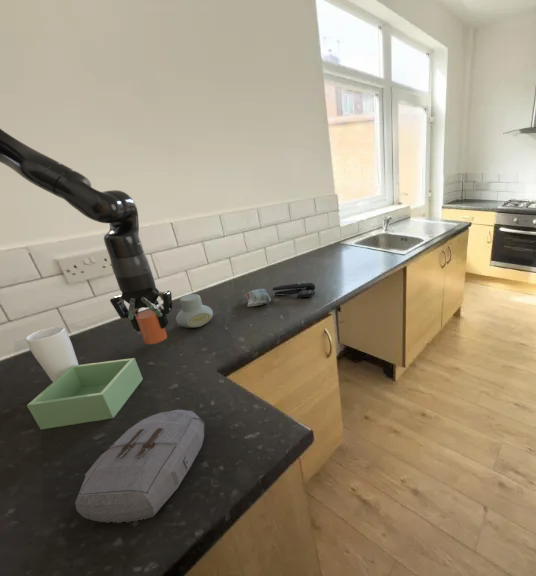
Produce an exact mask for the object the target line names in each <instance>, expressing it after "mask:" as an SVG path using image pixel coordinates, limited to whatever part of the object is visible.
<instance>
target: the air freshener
mask: <svg viewBox="0 0 536 576" xmlns="http://www.w3.org/2000/svg"><path fill="white" fill-rule="evenodd" d="M179 302H180V306H181V310H180V311H178V313H177V315H176V317H175V320H176V323H177V324H178V325H179V326H181V327H183V328H188V329H193V328H194V329H195V328H200V327H201V328H202V327H203V326H204V325H205V324H207V323H209V322H210V321H211V319H212V318H213V316H214V311H213V309H212V308H211V307H210V306H208V305H205V304H203V301H202V298H201V295H199V294H197V293H191V294H186V295H184V296H182V297H181V298H179Z"/></svg>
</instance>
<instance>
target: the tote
mask: <svg viewBox="0 0 536 576" xmlns="http://www.w3.org/2000/svg"><path fill="white" fill-rule="evenodd" d="M143 380H144V377H143V376H142V373H141V371H140V368H139V365H138V363H137V360H136V358H135V357H132V358H124V359H123V358H122V359H116V360H107V361H100V362H93V363H92V362H91V363H85V364H79V365H76V366H71V367H70V368H69V369H68V370H67V371H66V372H64V373H63V374H62V375H61V376H60V377H59V378H58V379H56V380H55V381H54V382H52V383H50V384H49V385H48V386H47V387H46V388H45V389H44V390H43V391H41V392H40V393H39V394H38V395H36V397H35V398H33V399H32V400H31V401H30V402H29V403H28V404H27V405H26V407H27V409H28V410H29V412H30V414H31V415H32V417H33V419H34V421H35V423H36V424H37V426H38V427H39V429H40V430H47V429H53V428H60V427H66V426H72V425H78V424H86V423H91V422H98V421H105V420H110V419H114V418H115V417H116V416H117V414H118V413H119V412H120V411H121V409H123V406H125V404H126V402H127V401H128V400H129V398H130V397H131V396H132V394H133V393H134V392H135V390H136V389H137V388H138V386H139V385H140V384H141V383H142V381H143Z"/></svg>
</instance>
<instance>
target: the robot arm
mask: <svg viewBox="0 0 536 576" xmlns="http://www.w3.org/2000/svg"><path fill="white" fill-rule="evenodd" d="M0 163H1V164H3V165H5V166H7V167H8V168H10V169H11V170H13V171H14V172H15V173H17V174H18V175H20V177H22V178H23V179H25V180H26V181H28V182H29V183H31V184H33V185H34V186H36V187H38V188H40V189H42V190H44V191H46V192H48V193H50V194H52V195H54V196H55V197H58V198H60V199H63V200H64V201H66V202H67V203H68V204H69V205H70V206H72V207H73V208H74V209H75V210H77V211H78V212H79V213H81V214H82V215H83V216H85V217H86V218H88V219H90V220H92V221H94V222H97V223H101V224H109V230H108V231H107V233H106V234H104V236H103V242H104V245H105V248H106V251H107V254H108V257H109V260H110V266H111V269H112V272H113V274H114V277H115V280H116V282H117V286H118V288H119V291H120V292H121V294H120V295H118V294H117V295H115V296H113V297H111V299H110V300H109V302H110V304H111V305H112V306H113V308H114V310H115V311H116V313H117V314H118V316H119V318H120V319H128V320H130V323H131V326H132V329H133V330H135V331H136V332H140V329H139V327H138V324H137V321H136V318H135V316H136V315H137V314H139V310H140V309H143V308H145V309H147V308H148V309H149V310H151V311H154V312H155V313H156V314H157V315H158V320H159V323H160V326H161V328H165V329H166V328H167V326H168V325H169V319H168V314H170V312H171V311H173V296H172V291H171V290H166V291H159V289H158V288H157V286H156V282H155V279H154V275H153V273H152V269H151V265H150V263H149V259H148V257H147V256H146V254H145V251H144V250H145V249H144V248H143V244H142V241H141V238H140V223H139V222H140V221H139V211H138V208H137V204H136V202H135V201H134V200H133V198H132V197H131V195H129V194H128V193H126V192H124V191H122V190H118V189H112V190H106V191H100V190H97V189H96V188H94V187H92V182H91V181H90V179H89V178H88V177H86V176H85V175H84V174H82V173H80V172H78V171H76V170H74V169H73V168H71V167H69V166H67V165H65V164H63V163H61V162H60V161H57V160H55V159H54V158H53V157H50V156H48V155H46V154H45V153H42V152H40V151H38V150H36V149H34V148H32V147H30V146H28V145H26V144H25V143H24V142H22V141H20V140H18V139H17V138H15V137H13V136H12V135H11V134H9V133H7V132H6V131H4V130H3V129H2V128H0ZM158 298H160V300H161V301H162V303H161V302H160V300H159V299H158ZM125 302H126V303H127V304H129V305H128V307H127V304H125ZM162 304H163V305H162Z"/></svg>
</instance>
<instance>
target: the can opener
mask: <svg viewBox="0 0 536 576" xmlns="http://www.w3.org/2000/svg"><path fill="white" fill-rule="evenodd" d="M315 290H316V285H315V283H313V282H309V281H306V282H299V281H298V282H297V283H288V284H282V285H281V284H280V285H277V286H274V287H272V291H274V293H275V294H289V295H294V294H297V298H299V297H309V298H313V296H314V295H315V294H316V291H315Z"/></svg>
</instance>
